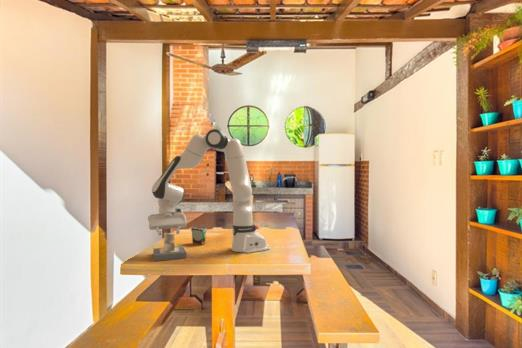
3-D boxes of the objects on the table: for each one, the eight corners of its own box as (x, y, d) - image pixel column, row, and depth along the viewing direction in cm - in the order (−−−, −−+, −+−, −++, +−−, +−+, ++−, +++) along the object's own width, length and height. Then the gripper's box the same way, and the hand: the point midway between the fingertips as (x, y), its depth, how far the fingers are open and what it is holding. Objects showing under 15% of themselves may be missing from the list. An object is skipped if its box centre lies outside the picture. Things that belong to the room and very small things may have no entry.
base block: (182, 251, 194) (182, 245, 194) (186, 257, 179) (186, 251, 179) (153, 253, 189) (153, 248, 189) (154, 261, 174) (154, 255, 174)
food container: (211, 243, 212) (210, 227, 212) (203, 245, 207) (202, 229, 207) (199, 241, 220) (198, 225, 220) (191, 242, 216) (190, 227, 215)
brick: (173, 248, 187) (173, 232, 187) (174, 250, 183) (174, 233, 182) (164, 249, 186) (163, 232, 185) (164, 251, 181) (164, 234, 181)
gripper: (147, 211, 188) (148, 232, 179) (185, 209, 195) (188, 229, 186) (147, 218, 192) (148, 239, 183) (184, 216, 199) (187, 235, 190)
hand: (168, 234), depth 185 cm, fingers open, 8 cm apart
